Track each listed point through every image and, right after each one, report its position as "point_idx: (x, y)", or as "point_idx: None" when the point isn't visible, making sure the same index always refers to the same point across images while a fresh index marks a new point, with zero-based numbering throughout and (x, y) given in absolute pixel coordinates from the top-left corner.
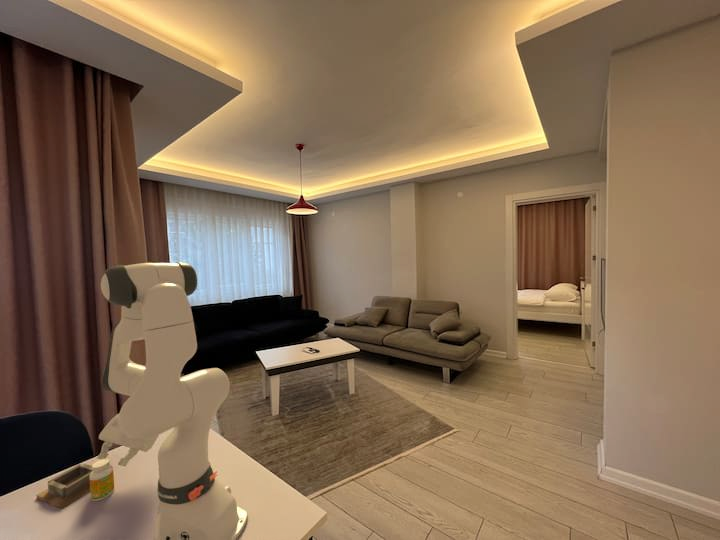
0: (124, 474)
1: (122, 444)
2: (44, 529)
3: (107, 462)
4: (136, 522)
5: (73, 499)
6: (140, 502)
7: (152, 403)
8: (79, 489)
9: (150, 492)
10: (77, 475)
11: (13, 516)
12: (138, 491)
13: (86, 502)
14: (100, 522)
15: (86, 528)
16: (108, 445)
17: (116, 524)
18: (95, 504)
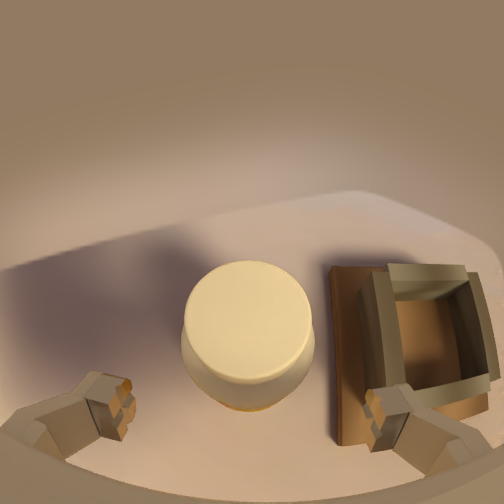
0: (287, 487)
1: (126, 487)
2: (275, 213)
3: (188, 334)
4: (23, 291)
5: (334, 304)
6: (54, 359)
7: None
8: (363, 332)
9: None
10: (463, 372)
11: (421, 221)
12: None
13: None
14: (117, 269)
15: (142, 245)
16: (434, 469)
17: (66, 275)
18: None
